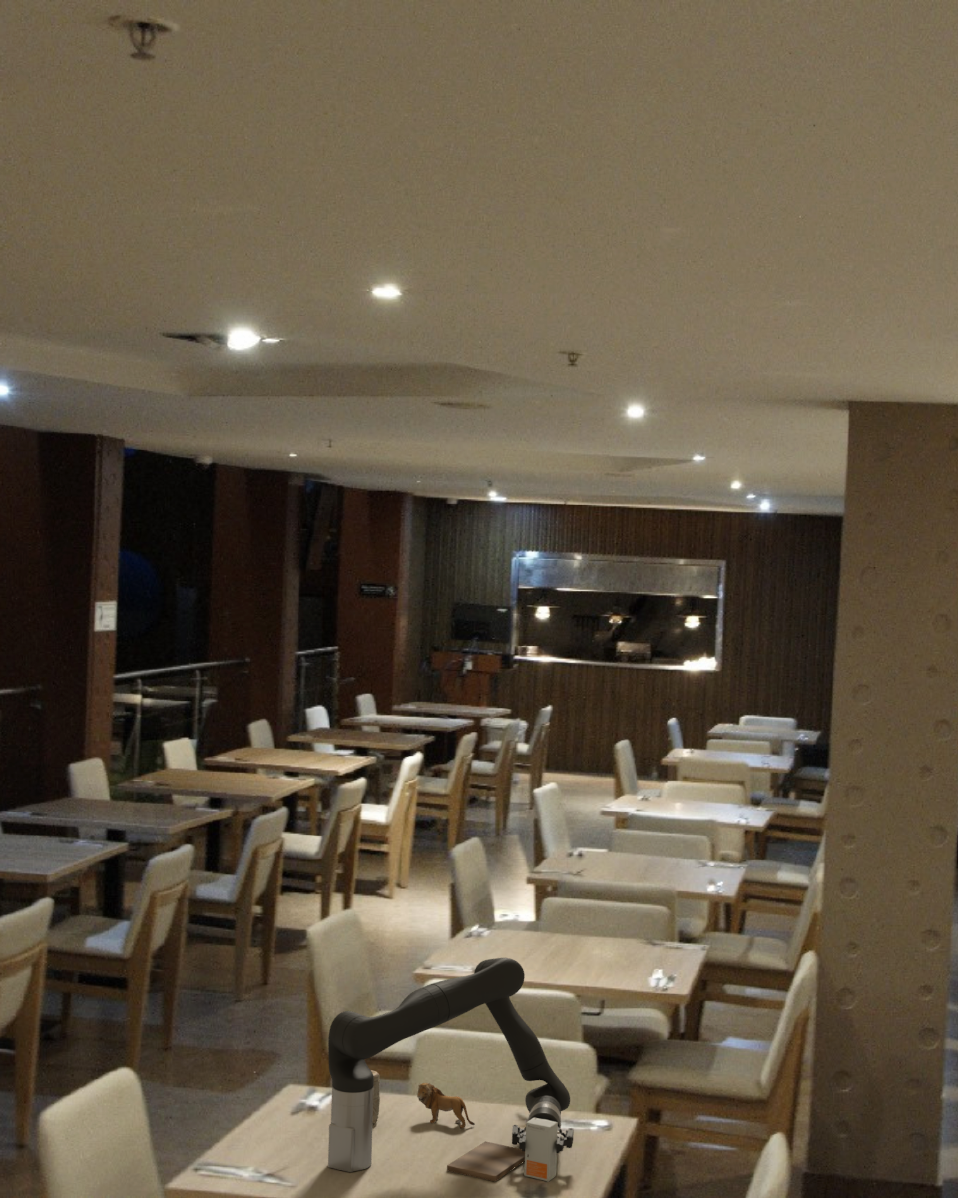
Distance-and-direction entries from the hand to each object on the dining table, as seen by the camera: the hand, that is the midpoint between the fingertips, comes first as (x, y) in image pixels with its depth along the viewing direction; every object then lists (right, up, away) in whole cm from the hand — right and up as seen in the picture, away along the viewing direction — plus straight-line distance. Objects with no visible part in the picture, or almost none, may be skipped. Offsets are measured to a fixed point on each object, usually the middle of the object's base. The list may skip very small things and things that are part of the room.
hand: (540, 1148), depth 341 cm
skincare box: (0, -7, +2) cm, 8 cm away
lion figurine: (-22, -7, +35) cm, 42 cm away
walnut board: (-11, -7, +9) cm, 16 cm away
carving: (-41, -6, +34) cm, 53 cm away
